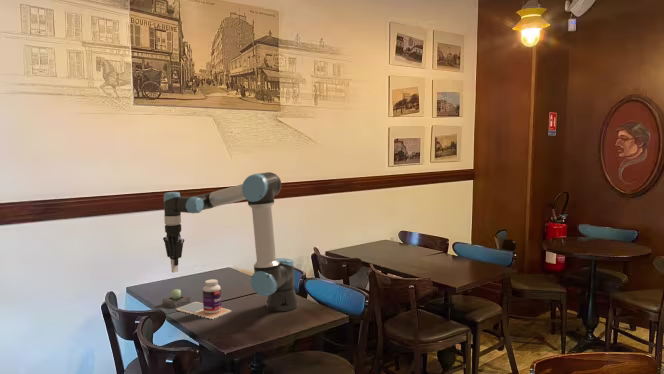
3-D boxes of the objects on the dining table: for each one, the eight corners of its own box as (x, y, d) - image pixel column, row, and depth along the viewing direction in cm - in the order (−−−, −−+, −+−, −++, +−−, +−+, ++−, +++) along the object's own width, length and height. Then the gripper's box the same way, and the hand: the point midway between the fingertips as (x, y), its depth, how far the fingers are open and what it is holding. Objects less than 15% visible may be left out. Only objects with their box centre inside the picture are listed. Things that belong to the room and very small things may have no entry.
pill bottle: (216, 315, 215) (215, 283, 214) (200, 313, 217) (199, 283, 215) (224, 309, 223) (223, 278, 222) (208, 307, 225) (207, 278, 223)
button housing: (190, 302, 235) (189, 296, 234) (175, 308, 227) (174, 302, 227) (177, 299, 240) (177, 293, 239) (162, 305, 232) (162, 299, 232)
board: (231, 311, 222) (231, 309, 222) (212, 319, 212) (212, 318, 212) (195, 302, 235) (195, 301, 235) (176, 310, 225) (176, 308, 224)
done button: (182, 297, 234) (182, 289, 233) (175, 300, 230) (175, 292, 230) (176, 296, 236) (176, 288, 236) (169, 298, 232) (169, 290, 232)
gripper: (188, 224, 229) (190, 271, 232) (170, 221, 236) (172, 268, 238) (175, 226, 223) (177, 275, 225) (157, 224, 230) (159, 271, 232)
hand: (174, 271), depth 232 cm, fingers closed
